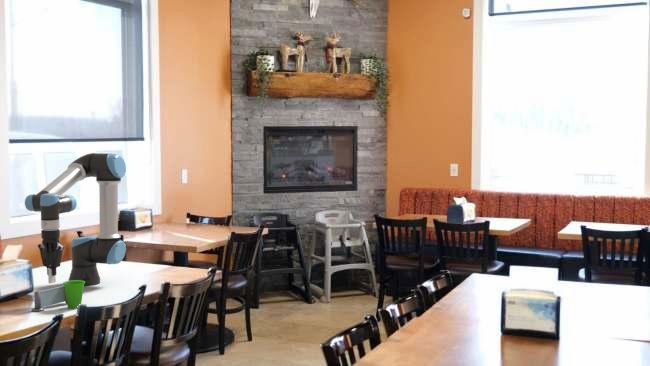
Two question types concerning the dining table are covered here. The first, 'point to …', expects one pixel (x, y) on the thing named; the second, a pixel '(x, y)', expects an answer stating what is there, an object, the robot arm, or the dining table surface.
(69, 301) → the cup
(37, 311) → the hinge base
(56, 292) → the gate
